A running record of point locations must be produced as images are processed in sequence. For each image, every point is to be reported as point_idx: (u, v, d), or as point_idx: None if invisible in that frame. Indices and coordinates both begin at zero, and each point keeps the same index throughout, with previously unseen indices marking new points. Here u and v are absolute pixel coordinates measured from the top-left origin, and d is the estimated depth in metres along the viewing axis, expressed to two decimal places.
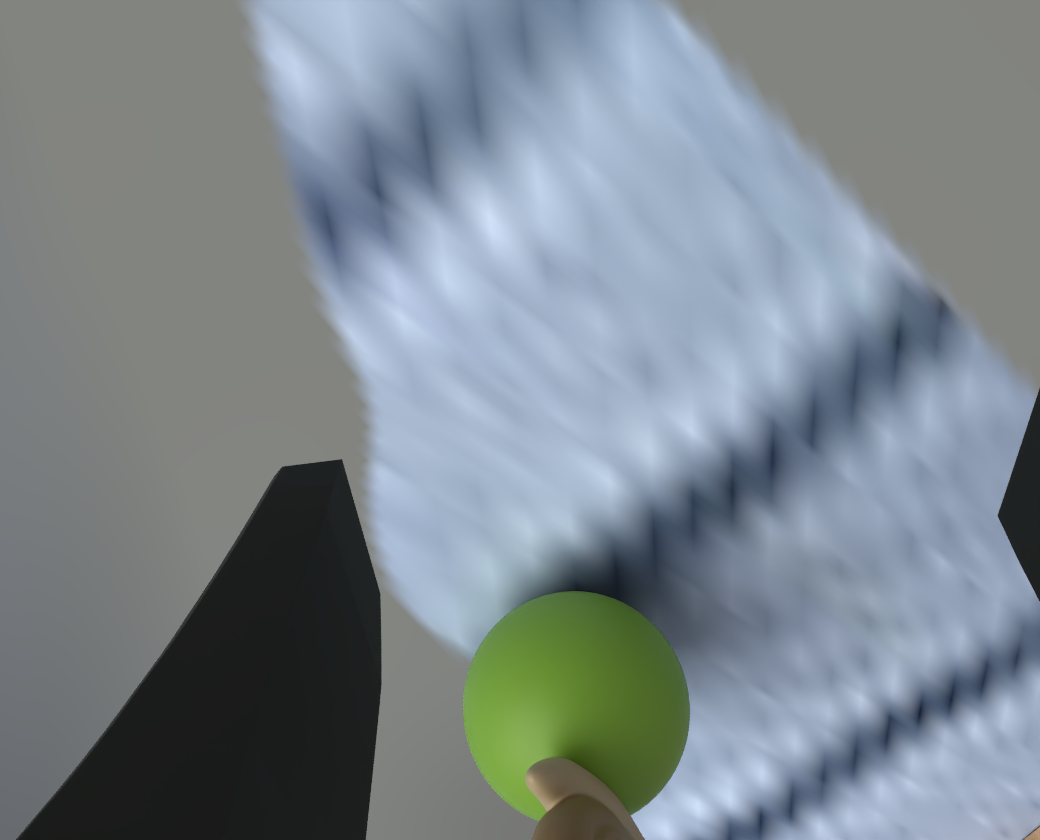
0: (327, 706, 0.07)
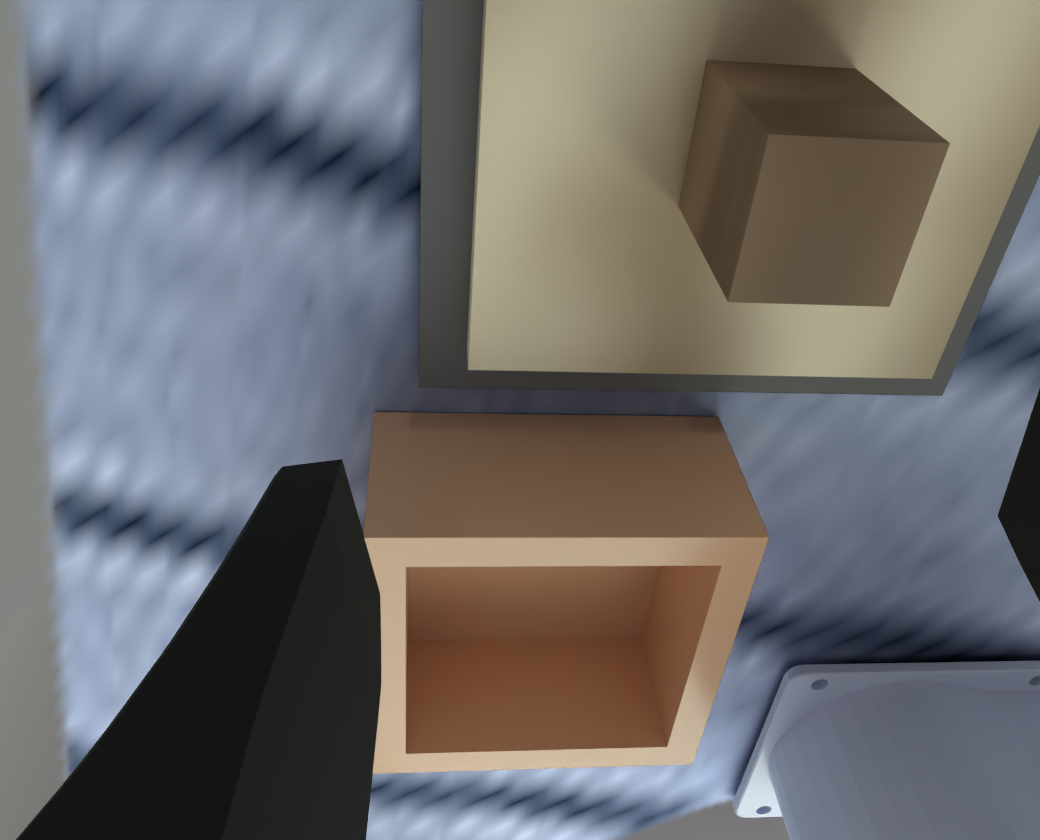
0: (325, 705, 0.07)
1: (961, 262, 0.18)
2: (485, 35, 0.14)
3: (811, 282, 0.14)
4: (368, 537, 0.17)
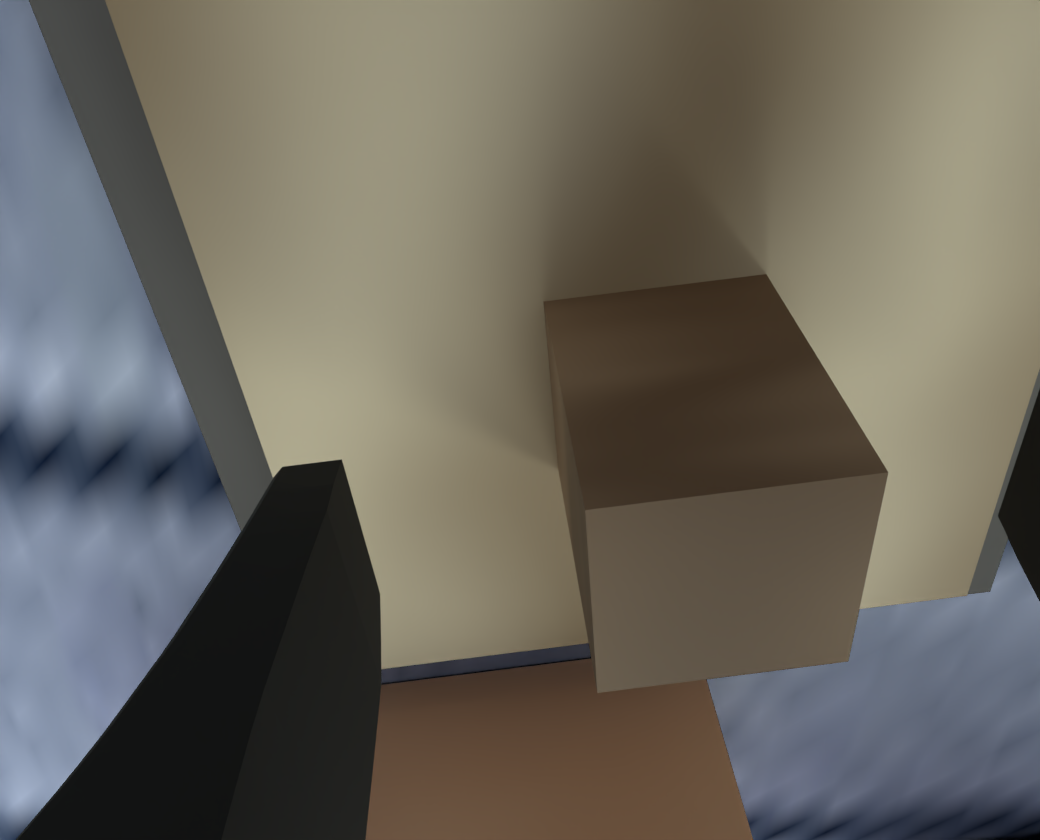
0: (326, 706, 0.07)
1: (980, 468, 0.13)
2: (221, 326, 0.10)
3: (716, 654, 0.09)
4: None
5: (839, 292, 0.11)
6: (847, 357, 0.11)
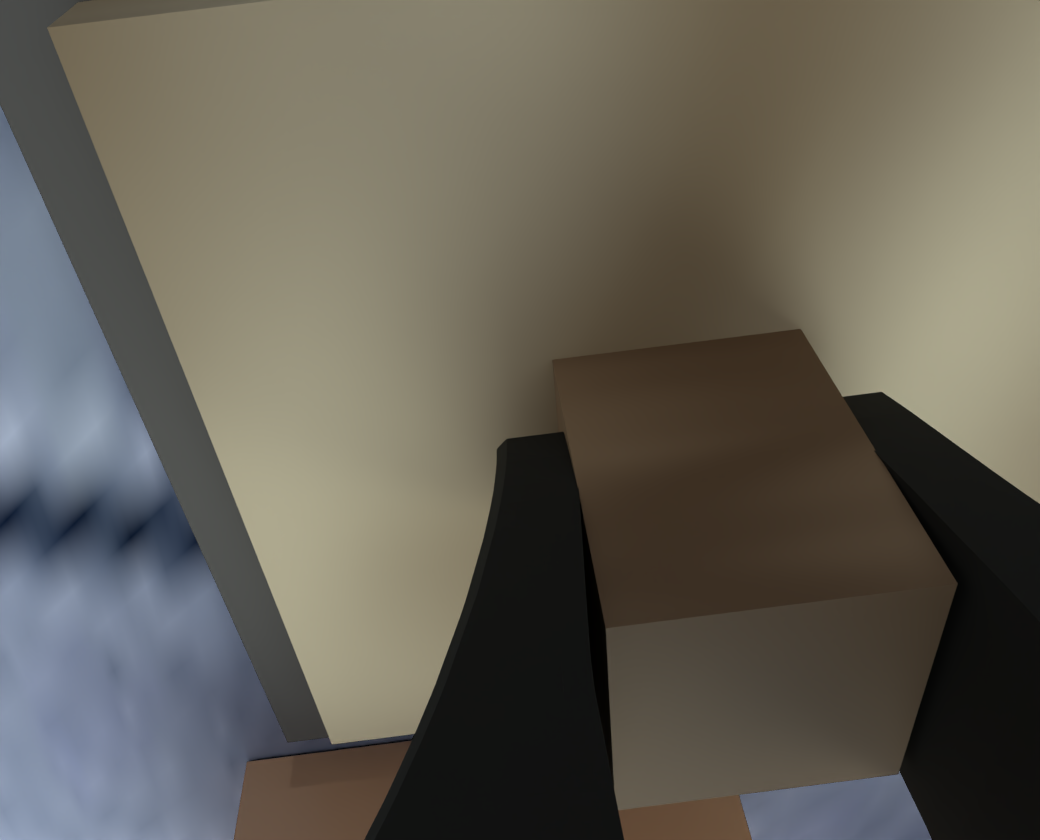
0: None
1: None
2: (193, 389, 0.09)
3: (751, 770, 0.08)
4: None
5: (881, 347, 0.10)
6: None
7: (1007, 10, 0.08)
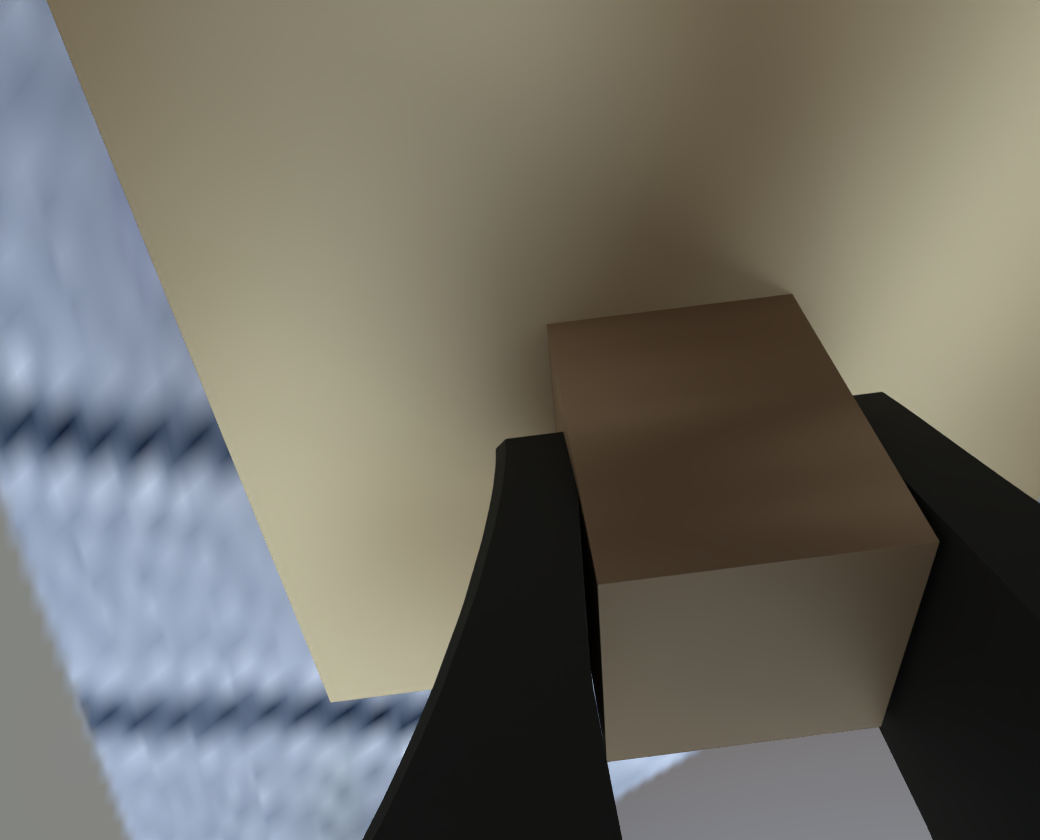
0: None
1: None
2: (191, 352, 0.09)
3: (738, 723, 0.08)
4: None
5: (871, 312, 0.10)
6: (876, 380, 0.10)
7: None
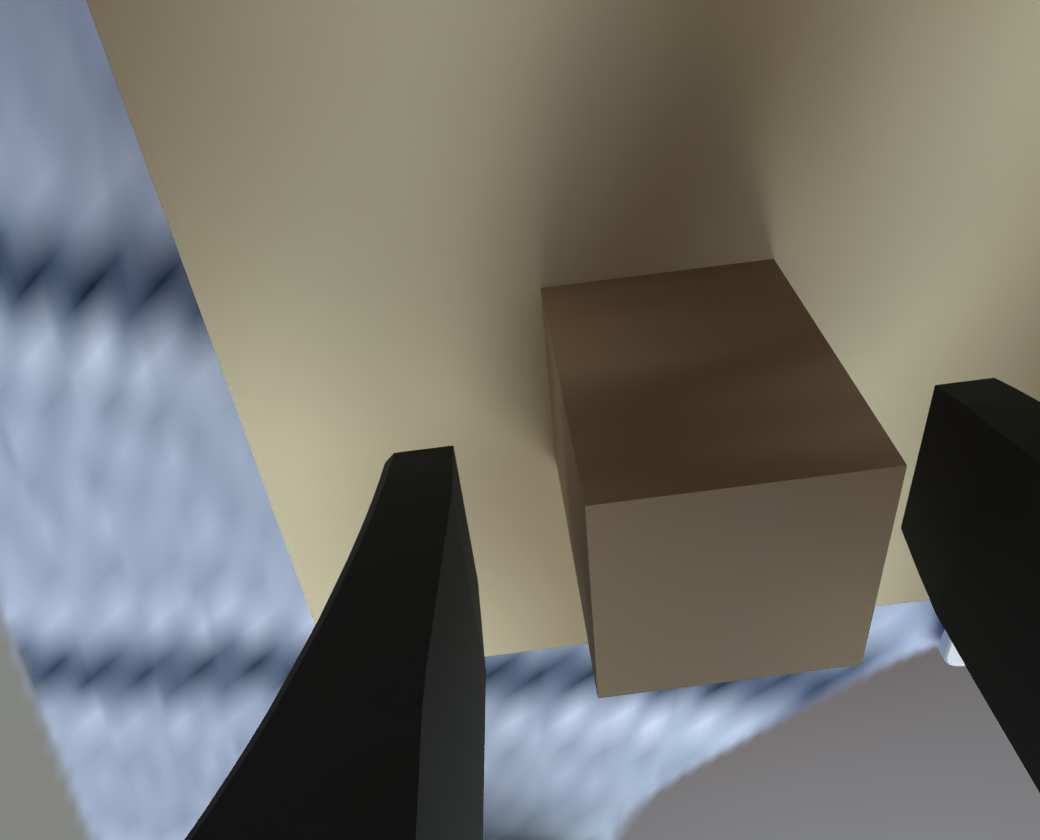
0: (458, 689, 0.07)
1: None
2: (203, 315, 0.10)
3: (723, 657, 0.09)
4: None
5: (850, 278, 0.10)
6: (857, 346, 0.11)
7: None
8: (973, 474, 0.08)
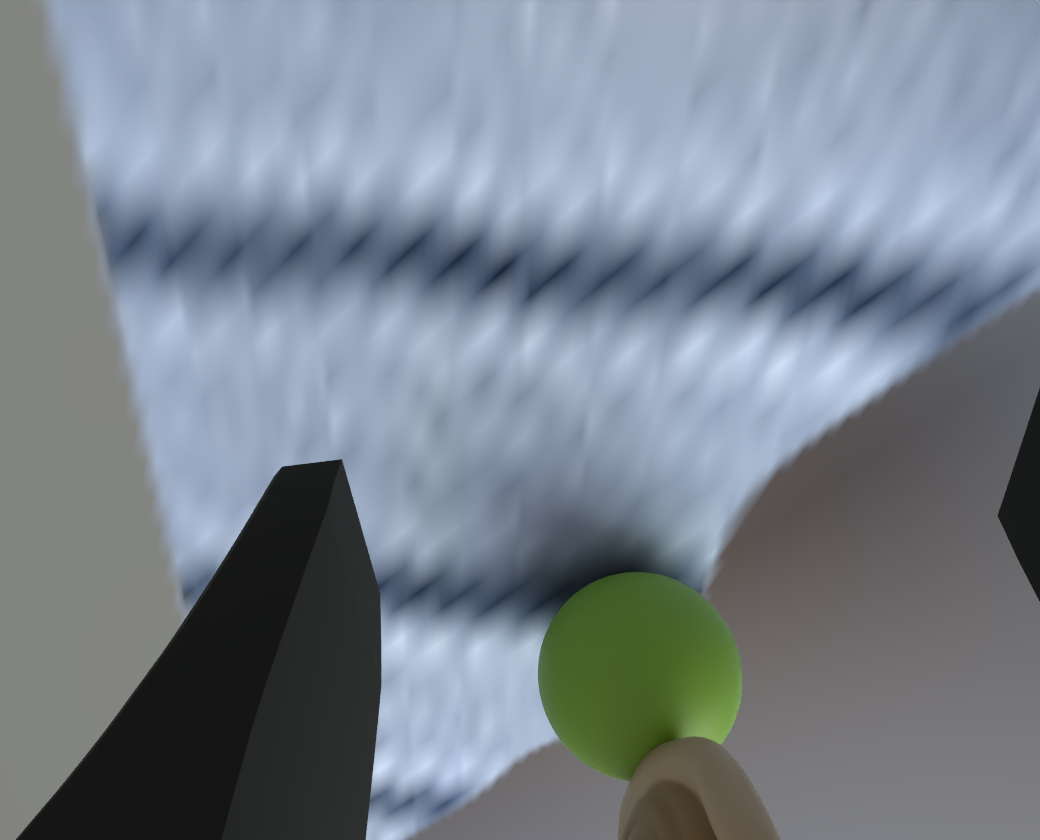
0: (327, 706, 0.07)
1: None
2: None
3: None
4: None
5: None
6: None
7: None
8: None
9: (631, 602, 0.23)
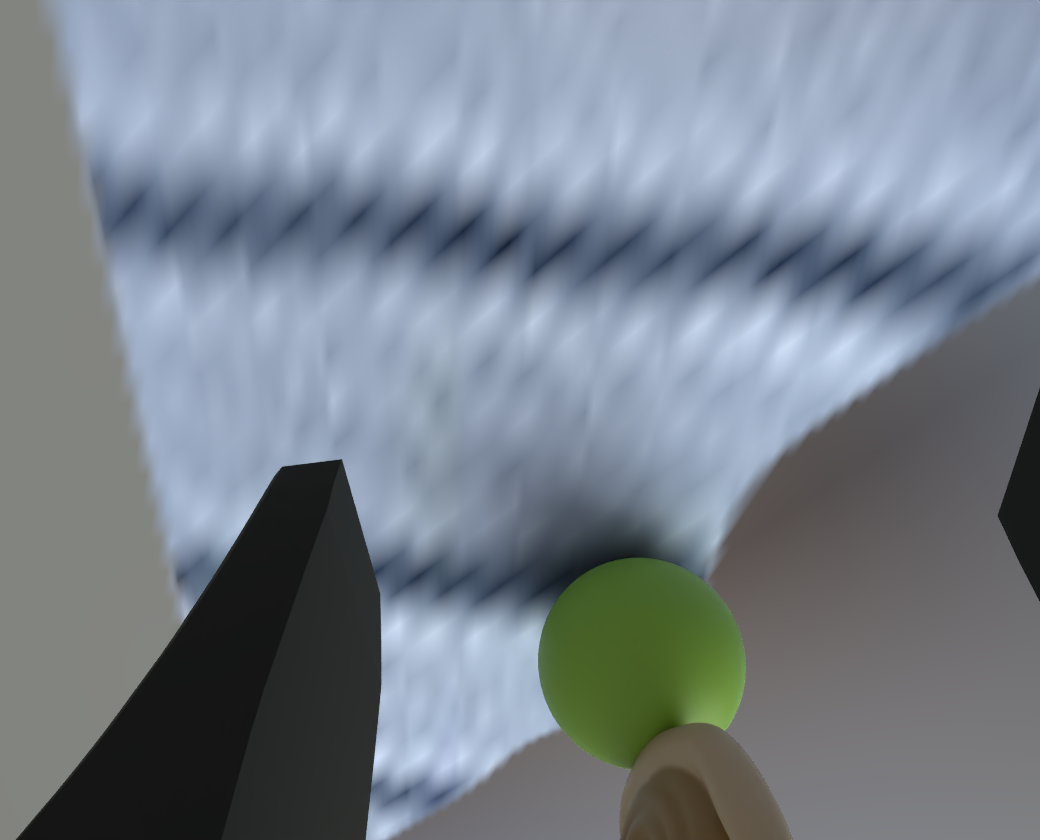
0: (327, 706, 0.07)
1: None
2: None
3: None
4: None
5: None
6: None
7: None
8: None
9: (634, 587, 0.22)
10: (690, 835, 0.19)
